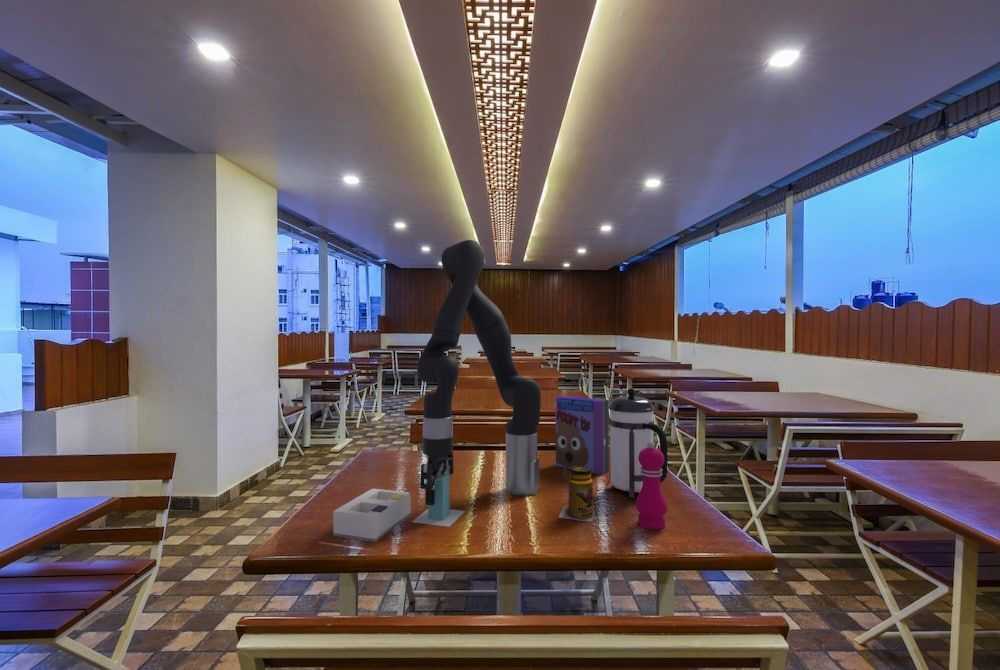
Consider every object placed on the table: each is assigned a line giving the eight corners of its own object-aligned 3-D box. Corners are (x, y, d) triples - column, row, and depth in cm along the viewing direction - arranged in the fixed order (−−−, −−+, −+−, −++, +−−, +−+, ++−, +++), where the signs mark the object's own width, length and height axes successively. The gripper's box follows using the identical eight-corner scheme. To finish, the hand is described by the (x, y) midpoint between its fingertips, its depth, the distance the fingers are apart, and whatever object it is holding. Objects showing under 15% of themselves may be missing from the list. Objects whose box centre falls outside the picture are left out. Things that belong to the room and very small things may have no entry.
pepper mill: (663, 533, 107) (663, 446, 107) (632, 526, 111) (631, 442, 111) (670, 522, 113) (670, 440, 113) (640, 516, 117) (640, 436, 117)
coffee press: (601, 498, 129) (601, 391, 129) (608, 480, 144) (608, 384, 144) (667, 505, 124) (667, 393, 123) (667, 486, 139) (667, 386, 138)
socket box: (410, 516, 118) (410, 491, 118) (375, 543, 103) (375, 515, 102) (372, 511, 121) (372, 487, 121) (333, 537, 106) (333, 509, 106)
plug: (449, 514, 118) (449, 474, 118) (443, 520, 114) (442, 479, 114) (435, 512, 119) (434, 473, 119) (428, 518, 115) (428, 478, 115)
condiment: (592, 522, 113) (592, 473, 113) (558, 518, 116) (557, 470, 116) (595, 511, 120) (595, 465, 120) (563, 507, 123) (562, 462, 123)
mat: (464, 512, 120) (464, 511, 120) (449, 528, 110) (449, 526, 110) (429, 508, 123) (429, 506, 123) (411, 523, 113) (411, 521, 113)
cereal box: (555, 466, 161) (555, 397, 160) (562, 463, 164) (561, 395, 164) (603, 474, 151) (603, 401, 150) (608, 471, 154) (608, 399, 154)
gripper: (439, 441, 109) (439, 510, 109) (462, 429, 122) (462, 491, 122) (410, 439, 111) (410, 507, 111) (436, 428, 124) (436, 488, 124)
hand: (437, 498), depth 117 cm, fingers open, 8 cm apart
